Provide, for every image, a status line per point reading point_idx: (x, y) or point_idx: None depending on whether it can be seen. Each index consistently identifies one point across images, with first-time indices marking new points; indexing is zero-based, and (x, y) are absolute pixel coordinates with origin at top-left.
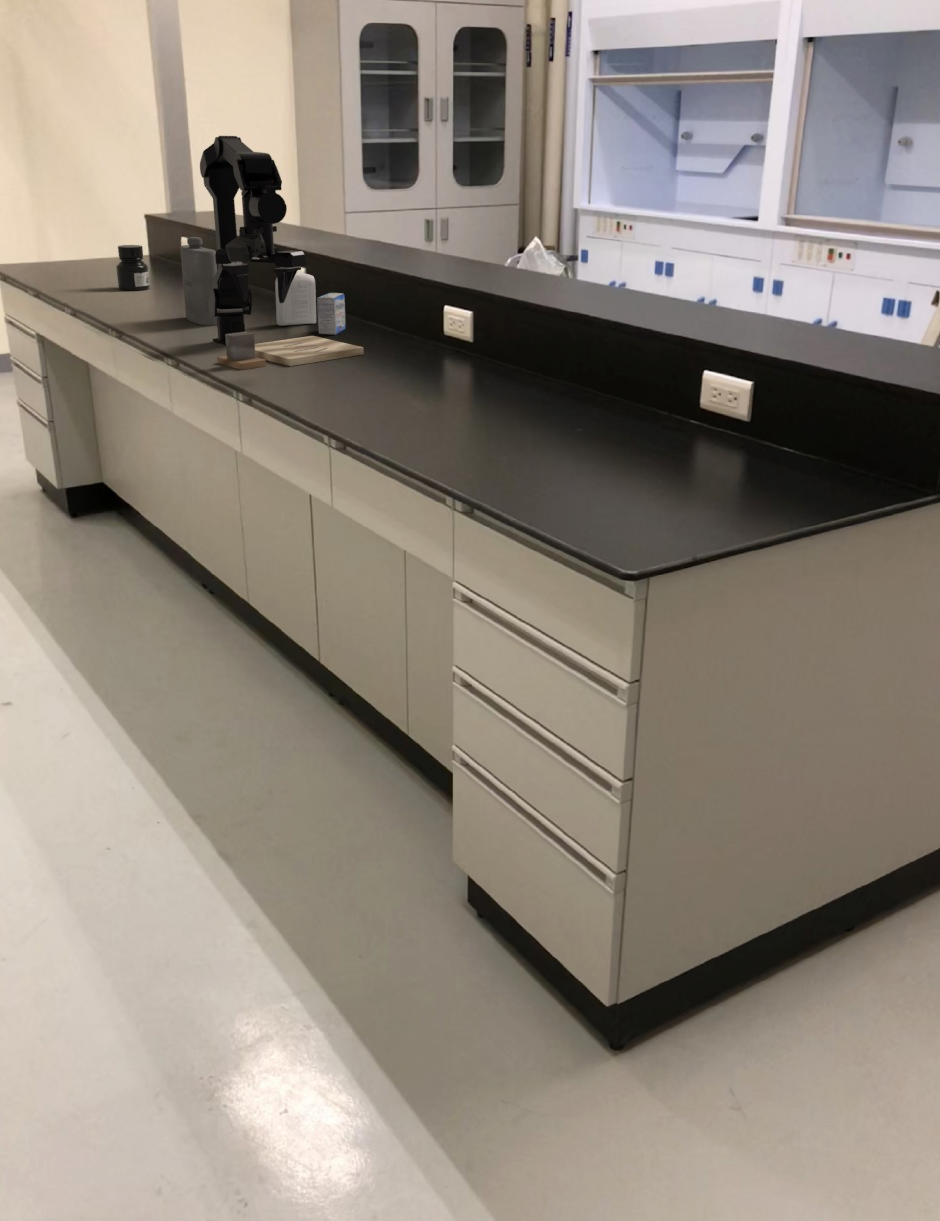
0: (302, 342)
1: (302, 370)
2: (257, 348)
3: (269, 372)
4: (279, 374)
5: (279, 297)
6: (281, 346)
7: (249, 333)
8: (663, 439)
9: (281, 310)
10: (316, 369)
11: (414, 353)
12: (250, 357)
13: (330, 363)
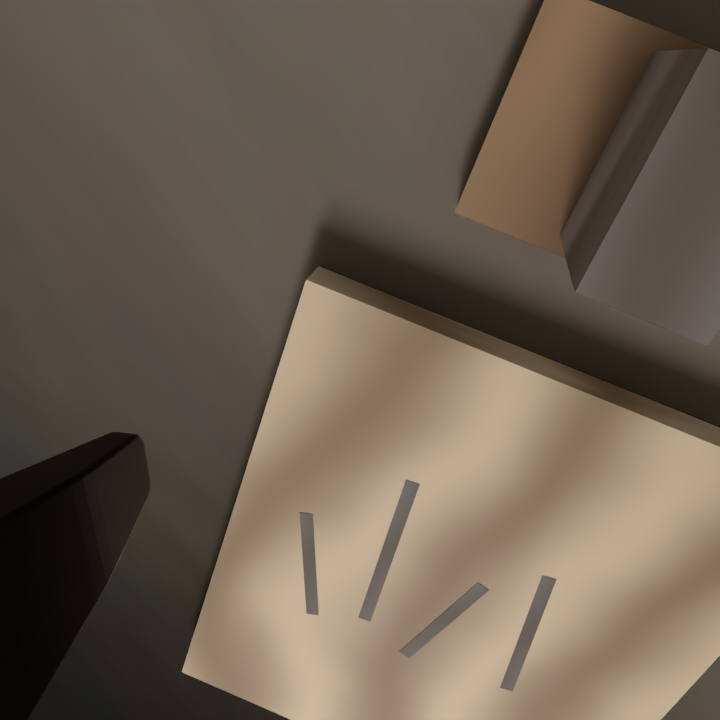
0: (513, 695)
1: (188, 198)
2: (689, 480)
3: (318, 27)
4: (225, 7)
5: (77, 458)
6: (568, 578)
7: (621, 279)
8: None
9: None
10: (145, 262)
11: (53, 706)
12: (581, 197)
13: (186, 426)
